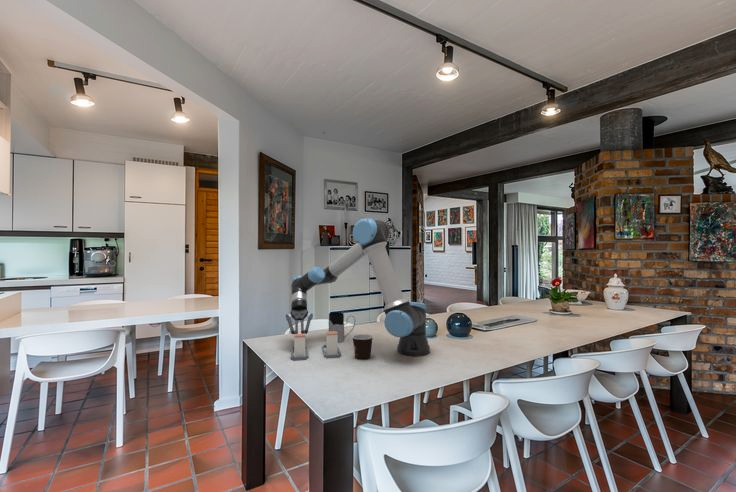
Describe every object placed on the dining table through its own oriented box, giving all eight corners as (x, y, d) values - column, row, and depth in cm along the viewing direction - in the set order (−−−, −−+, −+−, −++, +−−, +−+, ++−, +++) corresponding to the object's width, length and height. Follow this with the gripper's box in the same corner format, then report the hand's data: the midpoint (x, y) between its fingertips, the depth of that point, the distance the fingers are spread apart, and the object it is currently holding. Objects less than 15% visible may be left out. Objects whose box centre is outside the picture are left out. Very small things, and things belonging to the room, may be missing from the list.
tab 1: (294, 355, 152) (294, 333, 152) (305, 355, 153) (305, 333, 153) (294, 358, 148) (294, 336, 148) (305, 358, 149) (305, 335, 149)
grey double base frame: (290, 351, 162) (290, 346, 162) (337, 348, 167) (337, 343, 167) (290, 364, 144) (290, 358, 144) (342, 360, 149) (342, 354, 149)
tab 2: (326, 353, 156) (326, 331, 156) (336, 352, 157) (336, 331, 157) (326, 355, 152) (326, 333, 152) (337, 355, 152) (337, 333, 153)
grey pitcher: (326, 341, 179) (326, 312, 179) (353, 340, 182) (353, 311, 182) (328, 346, 170) (328, 315, 171) (357, 344, 174) (357, 314, 174)
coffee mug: (370, 364, 144) (370, 340, 144) (350, 362, 146) (350, 338, 146) (375, 355, 156) (375, 333, 156) (356, 354, 158) (356, 332, 158)
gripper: (312, 307, 174) (314, 350, 157) (285, 308, 171) (284, 352, 155) (312, 298, 169) (314, 341, 152) (285, 299, 166) (284, 343, 150)
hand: (299, 347), depth 153 cm, fingers closed
